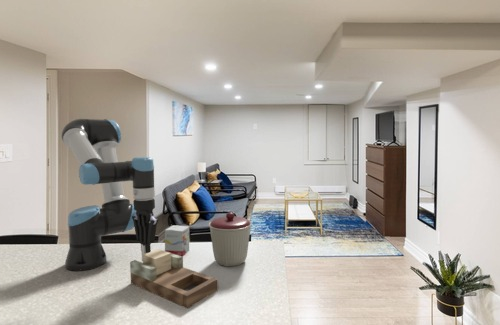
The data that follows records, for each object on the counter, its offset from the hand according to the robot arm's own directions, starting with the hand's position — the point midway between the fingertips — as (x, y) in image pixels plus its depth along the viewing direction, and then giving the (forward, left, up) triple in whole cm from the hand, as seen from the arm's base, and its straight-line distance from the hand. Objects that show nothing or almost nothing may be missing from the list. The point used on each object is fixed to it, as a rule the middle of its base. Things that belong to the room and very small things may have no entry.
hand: (146, 260), depth 117 cm
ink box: (-9, +23, -6) cm, 26 cm away
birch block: (+6, 0, -2) cm, 7 cm away
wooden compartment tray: (+15, 0, -6) cm, 16 cm away
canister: (+17, +29, -6) cm, 34 cm away
